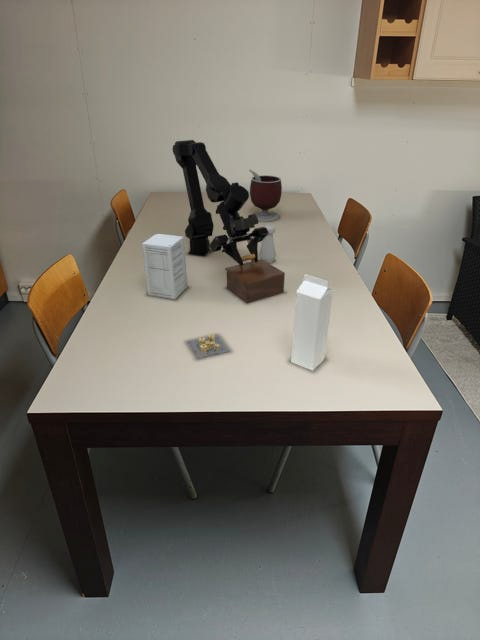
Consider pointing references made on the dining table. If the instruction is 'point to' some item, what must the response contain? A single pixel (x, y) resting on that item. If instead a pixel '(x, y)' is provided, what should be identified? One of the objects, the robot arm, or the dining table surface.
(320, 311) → the milk
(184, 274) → the supplement box
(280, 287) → the tea box
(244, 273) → the tea lid
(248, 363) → the dining table surface
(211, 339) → the dice set
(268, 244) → the salt shaker
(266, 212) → the mate gourd
